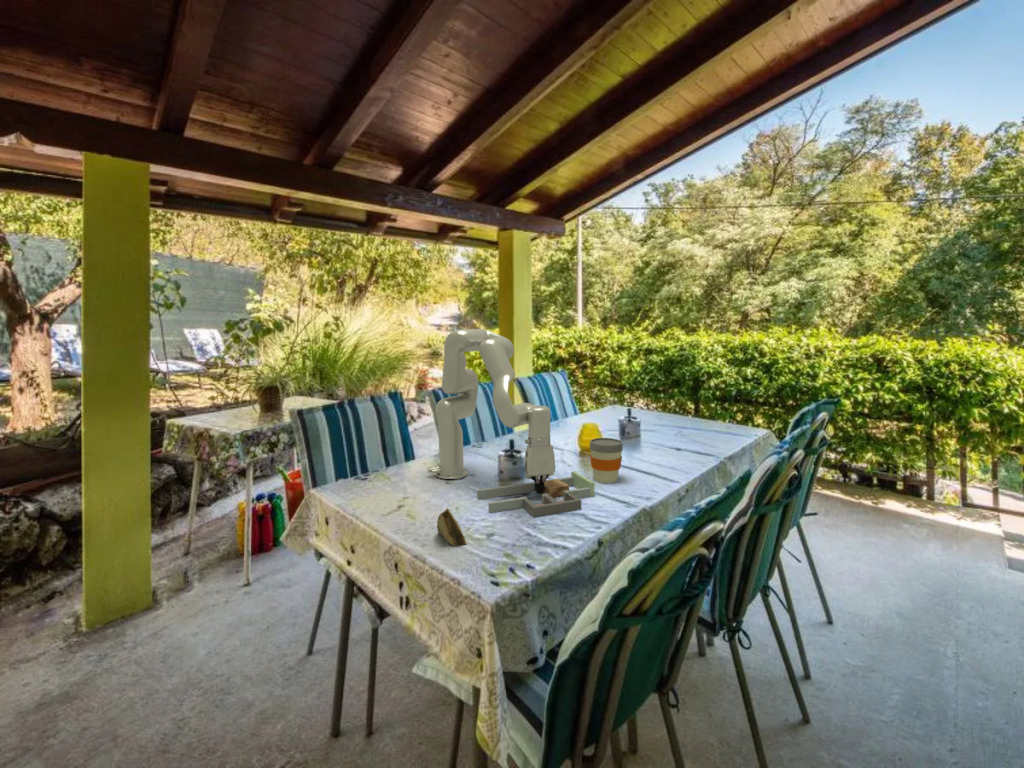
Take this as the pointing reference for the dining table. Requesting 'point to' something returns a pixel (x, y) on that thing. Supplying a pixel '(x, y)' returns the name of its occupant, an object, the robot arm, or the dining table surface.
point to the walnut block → (555, 488)
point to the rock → (450, 528)
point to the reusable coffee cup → (606, 459)
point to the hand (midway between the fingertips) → (539, 492)
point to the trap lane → (549, 502)
